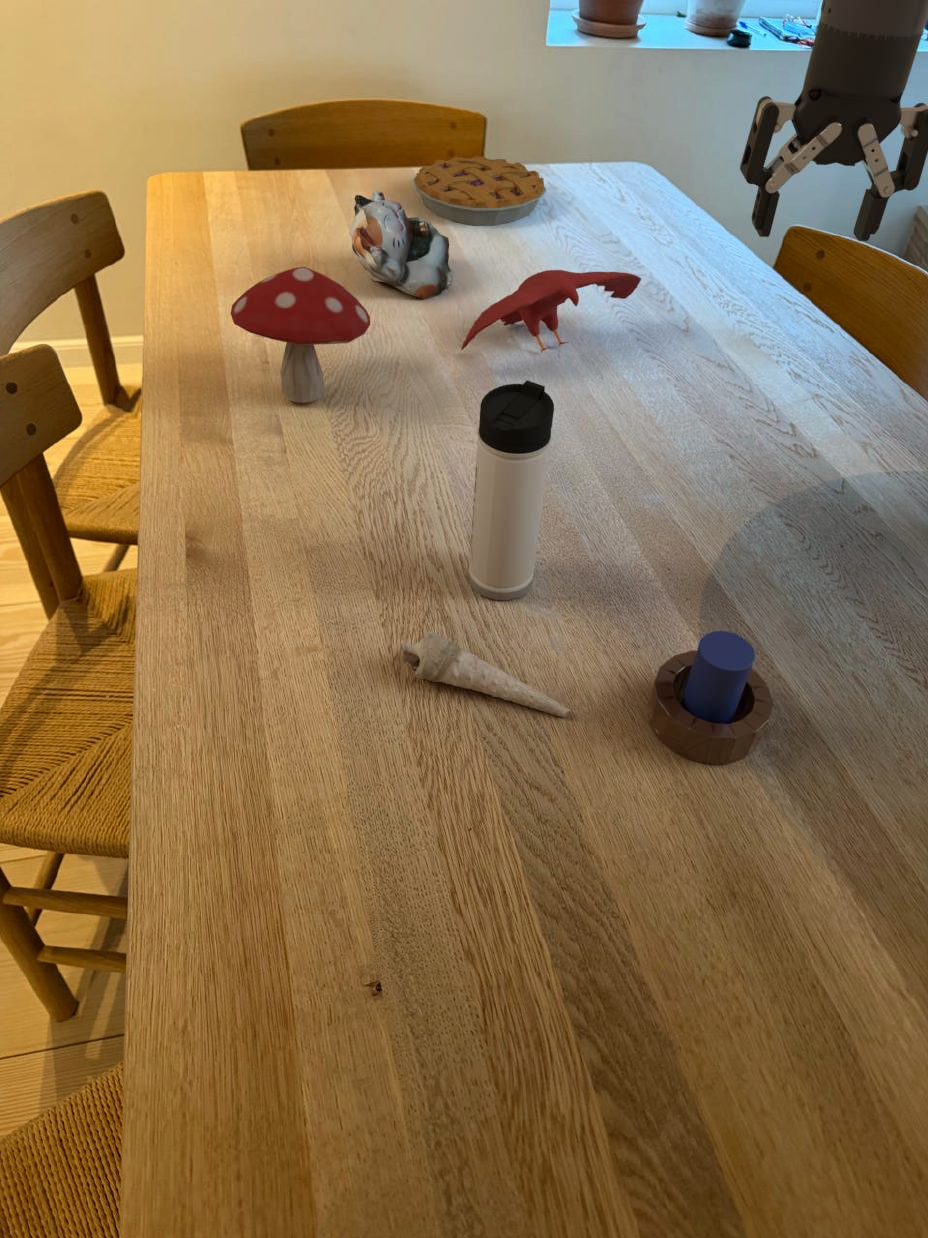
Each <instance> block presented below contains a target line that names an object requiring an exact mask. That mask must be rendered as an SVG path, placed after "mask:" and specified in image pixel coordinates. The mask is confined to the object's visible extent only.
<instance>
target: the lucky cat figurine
mask: <svg viewBox="0 0 928 1238" xmlns="http://www.w3.org/2000/svg"><path fill="white" fill-rule="evenodd" d="M354 201H355V204H354V206H353V211H354V219H353V222H352V224H351V225H350V228H349V235H350V237H351V248H352V253H353V255H354V256H355V258H356V260H357V261H358V262H359V263H360V265H361V266H362V268H363V269H364V270H365V271H366V272H368V275H369V278H370V280H372V281H374V282H382V283H385V284H387V285H390V286H391V287H394V288H396V289H398V290H399V291H401V292H403V293H404V294H407V295H411V296H413V297H415V298H417V299H421V300H426V299H430V298H434V297H438V296H440V295H441V294H442V293H443V292H444V291H448V290H449V289H450V288H451V286H452V282H453V278H454V276H453V275H454V274H453V271H452V269H451V268H450V265H449V262H450V261H449V259H450V254H449V250H450V240H449V237H448V236H446V235H444V234H441V233H440V232H439V230H438V229H437V228H436V227H435V226H434V225H433V223H432V222H431V221H430V220H429V219H427V218H424V217H422V216H421V217H420V216H411V217H408V215H407V214H406V211H405V209H404V207H403V206H402V204H401V203H399V202H398V201H395V200H391V199H386V198H385V195H384V193H383V192H382V191H381V190H375V191H373V192H372V195H371V196H370V198H368V197H365V196H363V195H361V194H356V195H354Z"/></svg>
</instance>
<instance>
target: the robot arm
mask: <svg viewBox="0 0 928 1238" xmlns="http://www.w3.org/2000/svg"><path fill="white" fill-rule="evenodd" d="M927 20H928V0H822V2H821V7H820V16H819V20H818V24H817V28H816V32H815V37H814V40H813V45H812V47H811V48H812V49H811V53H810V57H809V61H808V65H807V67H806V71H805V76H804V81H803V84H802V85H803V86H802V88H801V89H802V90H801V92H800V94H799V96H798V97H797V99H796V100H795V101H794V103H790V102H781V101H774V100H773V99H772V98H771V97H770V96H768V95H764V96H762V97H761V98H760V99H759V100H758V101H757V104H756V108H755V110H754V111H755V112H754V115H753V119H752V123H751V125H750V129H749V132H748V137H747V140H746V144H745V147H744V150H743V154H742V158H741V162H740V166H739V170H740V172H741V174H742V176H743V178H744V179H745V182H746V183H747V184H749V185H755V186H756V187H757V191H756V195H755V200H754V204H753V205H754V206H753V208H752V213H751V223H752V226H753V227H754V230H756V232H757V234H758V236H759V238H769V237H770V235H771V231H772V228H773V224H774V220H775V216H776V213H777V208H778V204H779V200H780V196H781V193H780V192H779V190H780V189H781V188H782V187H783V186H784V185H785V184H786V183H787V182H789V180H790V179H791V178H792V177H793V176H794V175H798V174H799V173H800V172H801V171H803V170H804V169H805V168H806V167H807V166H808V165H809V164H810V163H811V162H814V163H815V164H816V165H817V166H828V165H833V164H839V165H842V166H845V167H855V166H856V164H858V163H860V162H861V164H862V165H863V167H864V169H865V173H866V174H867V176H868V179H869V181H870V184H871V186H870V188H865V192H864V195H863V198H862V201H861V204H860V208H859V210H858V214H857V216H856V221H855V223H854V226H853V236H854V237H855V239H856V241H858V242H868V241H869V240H870V238H871V235H875V234H876V233H877V232H878V231H879V229H880V226H881V224H882V223H881V222H882V220H883V217H884V214H885V211H886V208H887V204H888V202H889V199H890V198H891V196H892V195H893V194H896V193H898V192H901V191H904V190H906V191H913V190H915V189H917V187H918V186H919V184H920V181H921V177H922V175H923V170H924V167H925V163H926V160H927V157H928V105H927V104H926V103H924V102H918V103H916V104H915V105H914V106H912V107H901V101H902V97H903V95H904V92H905V90H906V87H907V84H908V81H909V77H910V75H911V71H912V68H913V65H914V61H915V58H916V55H917V52H918V49H919V46H920V43H921V40H922V36H923V33H924V30H925V26H926V23H927ZM787 121H791V123H792V126H793V128H794V131H795V133H794V135H792V136H791V137H790V138H789V139H788V140H787V141H786V142H785V143H784V144H783V145H782V147H780V149H779V151H778V152H777V155H776V156H775V157H774V158H773V159H772V160H771V161H770V162H769V163H768V164H767V165H766V166H765V163H766V159H767V156H768V153H769V149H770V146H771V143H772V140H773V136H774V134H777V133H779V132H780V131H781V130H782V128H783V126H784V125H785V123H787ZM899 125H900V133H901V134H902V135H903V136H904V138H903V141H902V144H901V145H902V146H901V149H900V153H899V157H898V159H897V164H896V168H895V170H892V171H890V170H889V165H888V163H887V160H886V157H885V154H884V152H883V149H882V147H881V144H882V143H883V141H885V140H886V138H887V137H889V136H890V135H891V134H892V133H893V132H894V131H895V130H896V128H898V126H899Z"/></svg>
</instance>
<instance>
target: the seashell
mask: <svg viewBox="0 0 928 1238" xmlns="http://www.w3.org/2000/svg"><path fill="white" fill-rule="evenodd" d="M398 644H399V645H400V648H401V651H402V653H401V659H402V661H403V663H404V664H406V663H409V664H408V666H409V668H411V669H415V672H414V676H415V677H416V678H417V679H420V680H426V681H430V682H433V683H437V682H438V683H444V684H446V685H452V686H453V687H458V688H459V687H460V688H462V689H466V690H473V691H476V692H479V693H483V694H486V695H491V696H492V697H493V698H501V699H502V700H504V701H510V702H513V703H515V704H518V705H522V706H526V707H528V708H531V709H535V710H538V711H541V712H543V713H547V714H551V715H553V716H557V717H560V718H566V717H567V716H568V714H569V713H570V712H571V711H570V709H568V708H567V707H565V706H564V705H562V704H561V703H559V702H557V701H556V700H554V699H552V698H551V697H549V696H548V695H546V694H544V693H542V692H541V691H539V690H537V689H536V688H534V687H532V686H530V685H528V684H527V683H525V682H522V681H521V680H520V679H517V678H515V677H513V676H512V675H511V674H509V673H506V672H504V671H503V670H502V669H500V668H498V667H496V666H494V665H493V664H491V662H488V661H485V660H483V659H481V658H480V657H479V656H478V655H475V654H474V653H472V652H469V651H467V650H466V649H462V648H461V647H460V646H458V645H457V644H456V643H454V642H452V641H451V640H450V639H449V638H445V637H443V636H441V635H440V634H438V633H436V632H435V631H434V630H432V629H431V630H428V632H426V633H425V634H424V637H423V638H422V639H421V640H419V641H418V642H416V643H410V642H405V641H404V639H402V638H401V639H400V642H399V643H398Z"/></svg>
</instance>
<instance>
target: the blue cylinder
mask: <svg viewBox="0 0 928 1238" xmlns="http://www.w3.org/2000/svg"><path fill="white" fill-rule="evenodd" d="M696 651H697V652H696V655H695V659H694V662H693V665H692V668H691V672H690V675H689V678H688V681H687V685H686V688H685V691H684V694H683V698H682V701H681V704H680V705H681V706H682V707H683V709H685V710H686V711H688V712H689V713H691V714H692V715H693V716H695V717H696V718H699V719H702V720H705V721H708V722H711V723H719V724H730V723H731V722H732V719H733V716H734V714H735V711H736V708H737V706H738V703H739V700H740V697H741V695H742V692H743V689H744V687H745V684H746V681H747V679H748V676H749V673H750V671H751V668H752V669H753V665H754V662H755V659H756V653H755V649H754V648H753V646H752V644H751V643H750V642H749V641H748V640H747V639H746V638H745V637H743V636H741V635H739V634H737V633H735V632H732V631H726V630H716V631H711V632H708V633H706V634H704V635H703V637H701V639H700V640H699V643H698V646H697V649H696Z"/></svg>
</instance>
